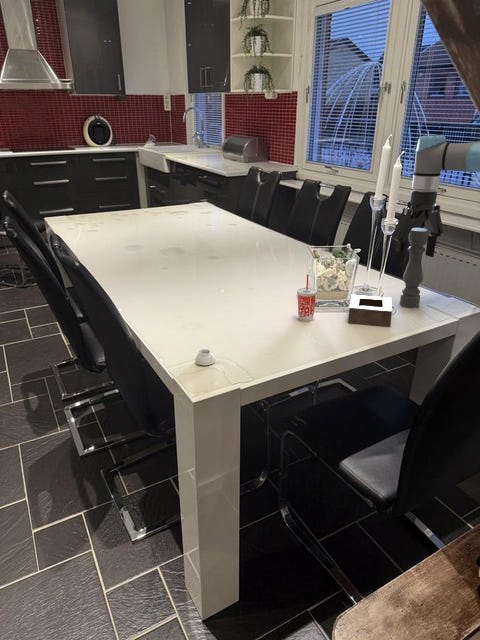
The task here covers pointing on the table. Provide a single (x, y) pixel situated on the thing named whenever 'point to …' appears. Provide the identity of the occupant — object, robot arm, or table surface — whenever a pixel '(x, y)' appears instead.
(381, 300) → the block
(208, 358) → the white jar
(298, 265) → the table surface
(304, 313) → the beverage cup
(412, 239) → the candle holder
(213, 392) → the table surface
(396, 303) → the table surface
